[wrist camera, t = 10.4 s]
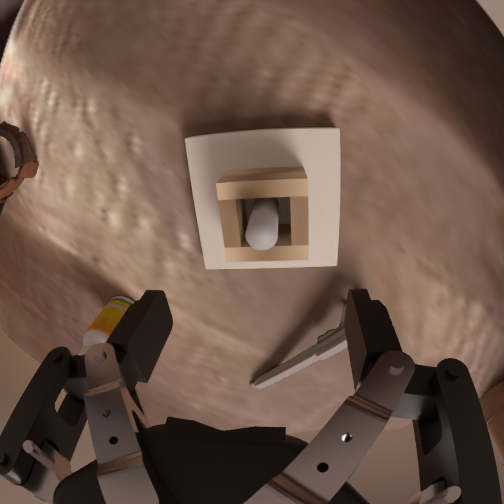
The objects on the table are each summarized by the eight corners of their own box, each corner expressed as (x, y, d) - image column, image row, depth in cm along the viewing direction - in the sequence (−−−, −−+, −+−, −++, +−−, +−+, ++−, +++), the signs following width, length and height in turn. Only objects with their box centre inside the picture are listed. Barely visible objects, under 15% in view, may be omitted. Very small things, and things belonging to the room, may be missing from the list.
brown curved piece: (-1, 120, 22) (-28, 117, 15) (56, 129, 27) (38, 127, 20) (-17, 208, 25) (-43, 226, 18) (37, 219, 30) (19, 240, 23)
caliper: (358, 288, 28) (371, 330, 23) (365, 293, 28) (379, 334, 23) (250, 382, 37) (245, 419, 32) (256, 385, 38) (252, 422, 32)
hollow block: (303, 166, 21) (307, 178, 18) (304, 236, 24) (308, 259, 21) (226, 170, 22) (215, 183, 19) (234, 238, 25) (226, 262, 21)
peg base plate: (335, 127, 21) (360, 136, 14) (334, 257, 26) (348, 308, 20) (190, 136, 22) (154, 150, 16) (209, 261, 28) (188, 310, 21)
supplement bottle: (154, 323, 33) (124, 383, 25) (125, 330, 35) (94, 384, 26) (129, 289, 31) (90, 347, 23) (101, 299, 32) (63, 352, 24)
